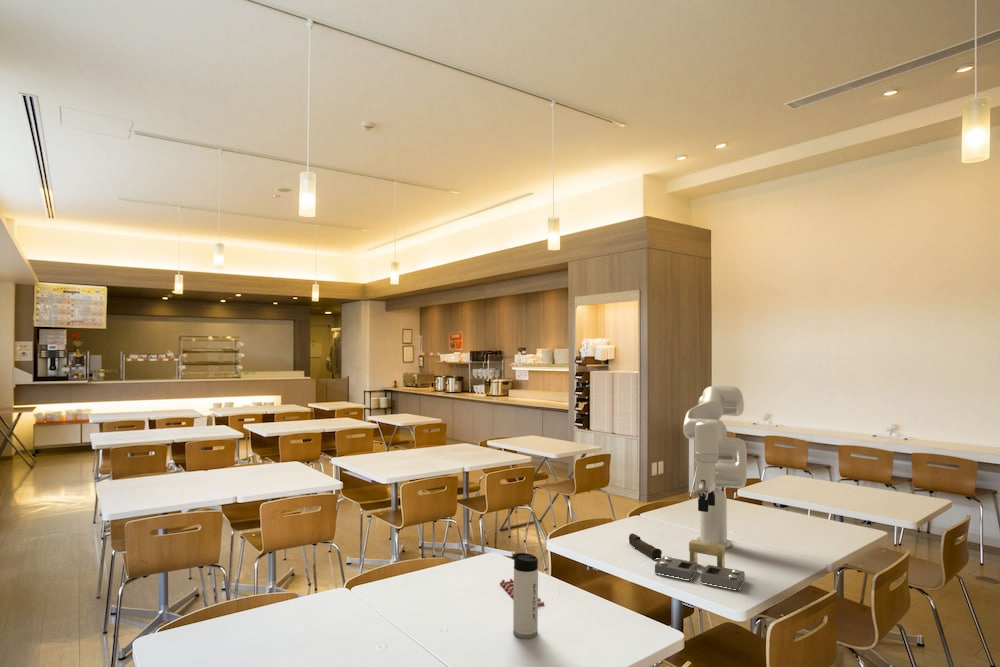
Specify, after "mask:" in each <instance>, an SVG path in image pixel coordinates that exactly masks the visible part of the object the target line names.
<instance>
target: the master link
mask: <svg viewBox="0 0 1000 667" xmlns="http://www.w3.org/2000/svg"><path fill="white" fill-rule="evenodd" d="M688 552H689V561H691V562H696V563H698V554H701V555H706V556H713V557H716V566H718V567H723V568H726V567H725V566H726V565H725V563H726V562H725V556H726V548H725V545H722V544H716V543H710V542H704V541H698V540H696V539H691V540H690V541H689V542H688Z"/></svg>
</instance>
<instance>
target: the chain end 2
mask: <svg viewBox="0 0 1000 667" xmlns="http://www.w3.org/2000/svg"><path fill="white" fill-rule="evenodd" d="M744 580H745V571H743V570H739V569H733V568H727V567H725V568H723V567H718V566H717V565H711V564H707V565H706V567H705V568H704V569H703V570H702V571H701V573H700V583H701V582H702V583H707V584H712V585H717V586H722V587H727V588H731V589H736V590H739V588H740V587H741V588H742V586H743V585H742V583H743V582H744V583H745V581H744ZM744 583H743V584H744ZM741 585H742V586H741ZM741 588H740V589H741ZM739 591H740V590H739Z"/></svg>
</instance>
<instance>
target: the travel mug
mask: <svg viewBox="0 0 1000 667" xmlns="http://www.w3.org/2000/svg"><path fill="white" fill-rule="evenodd" d="M512 559H513V580H514V600H513V612H512V613H513V616H512V617H513V619H512V620H513V622H512V623H513V625H512V626H513V627H512V628H513V629H512V630H513V631H512V633H513V635H514V636H515V637H517V638H519V639H523V640H529V639H533V638H535V637H537V636H538V632H539V630H538V629H539V628H538V627H539V626H538V620H539V618H538V614H539V612H538V610H539V606H538V598H539V594H538V593H539V592H538V591H539V559H538V558H537V556H535V555H533V554H530V553H525V552H524V553H523V552H517V553H513V554H512Z"/></svg>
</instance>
